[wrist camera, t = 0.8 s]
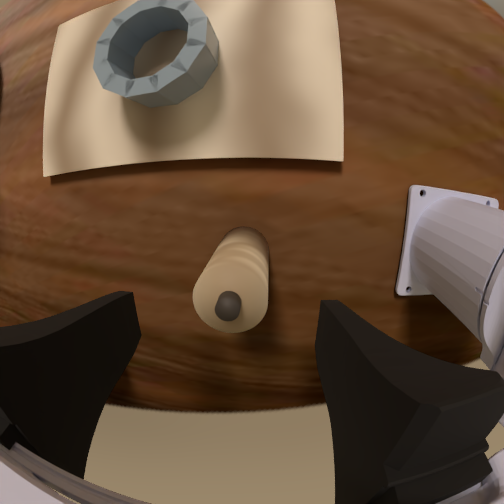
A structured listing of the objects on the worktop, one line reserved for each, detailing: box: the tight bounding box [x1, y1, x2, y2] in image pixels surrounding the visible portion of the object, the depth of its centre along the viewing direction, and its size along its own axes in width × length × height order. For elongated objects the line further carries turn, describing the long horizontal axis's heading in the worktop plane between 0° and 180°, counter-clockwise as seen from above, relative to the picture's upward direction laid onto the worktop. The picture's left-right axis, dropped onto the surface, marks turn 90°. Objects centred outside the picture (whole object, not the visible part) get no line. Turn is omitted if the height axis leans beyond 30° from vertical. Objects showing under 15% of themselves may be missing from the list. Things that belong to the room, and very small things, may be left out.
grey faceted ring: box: [93, 0, 219, 108], centre depth 12 cm, size 7×7×4 cm
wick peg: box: [193, 227, 269, 333], centre depth 15 cm, size 3×3×8 cm
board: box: [43, 0, 344, 177], centre depth 14 cm, size 22×14×1 cm, turn 90°
